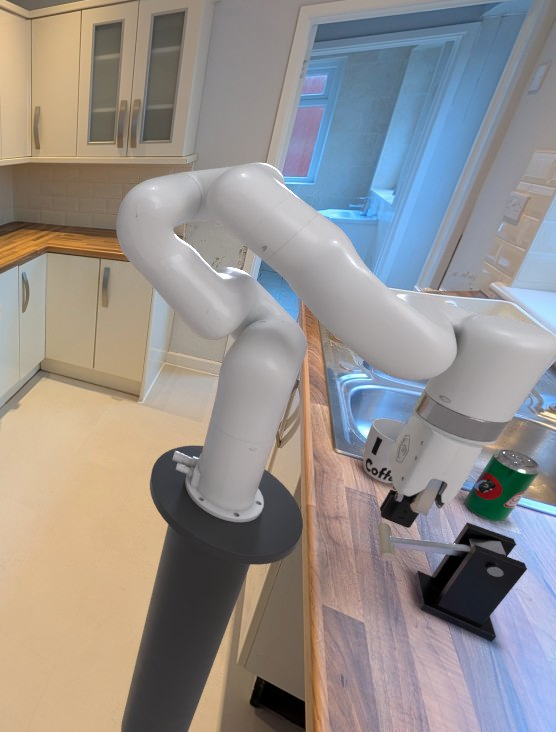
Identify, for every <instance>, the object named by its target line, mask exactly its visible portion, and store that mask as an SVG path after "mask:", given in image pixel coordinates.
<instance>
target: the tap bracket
mask: <svg viewBox="0 0 556 732" xmlns="http://www.w3.org/2000/svg"><path fill="white" fill-rule="evenodd" d="M469 538H472V539H481V540H490V541H500V542H501V544H502V546H503V549H504V551H505V554H506V556H504V555H502V554H499V553H496V552H494V551H491V550H488V549H486V548H483V547H480V546H478V545H475V544H474V546H473V547H472V548H471V550H470V551H469V553H468V554H467V556H466V557H462V556H454V555H446V554H444V557H443V558H442V559H441V561H440V562H439V564H438V565H437V567H436V569H435V570H434V572H433V573H432V574H431V575H430V574H428V573H426V572H422V571H420V570H417V571H416V573H415V574H414V580H415V585H416V590H417V591H416V592H417V597H418V602H419V607H420V610H421V611H423V612H425V613H427V614H429V615H431V616H433V617H436V618H438V619H440V620H442V621H444V622H447V623H449V624H451V625H453V626H455V627H457V628H460V629H462V630H465V631H466V632H469V633H471V634H474V635H475V636H478V637H480V638H482V639H484V640H486V641H488V642H491V643H492V642H493V641H494V640H495V639H496V638H497V635H496V631H495V629H494V625H493V621H492V619H491V616H492V614H493V613H494V612H495V610H496V609H497V608H498V606H499V605H500V604H501V603H502V601H503V600H504V599H505V598H506V597H507V596H508V594H509V593H510V591H511V590H512V589H513V588H514V586H515V585H516V584H517V583H518V581H520V579H521V578H522V577H523V575H524V574H525V573H526V571H527V570H528V568H527V566H526V563H525V562H523V561H521V560H517V559H515V558H512V557H510V556H509V555H510V554H511V552H512V551H513V549H514V548H515V547H516V545H517V542H516V540H515V539H514V538H512V537H510V536H507V535H505V534H501V533H498V532H496V531H493V530H491V529H487V528H483V527H481V526H479V525H476V524H473V523H470V522H466V523H465V524H464V525H463V528H462V529H461V530H460V532H459V534H458V535H457V536H456V538H455V539H454V541H453V543H452V544H460V545H469V546H471V545H470V540H469Z"/></svg>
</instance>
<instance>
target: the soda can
mask: <svg viewBox="0 0 556 732" xmlns="http://www.w3.org/2000/svg"><path fill="white" fill-rule="evenodd" d="M539 466H540V465H539V463H538V462H537V461H536V460H535V459H533V458H532V457H530V456H529V455H527V454H524V453H522V452H519V451H516V450H513V449H507V448H503V449H500V450H499V451H497V452H494V453H493V454H492V456H491V458H490V459H489V461H488V462H487V463H486V465H485V466H484V468H483V470H482V472H481V473H480V474H479V476H478V477H477V479H476V481H475V483H474V484H473V486H472V487H471V489H470V491H469V492H468V494H466V497H465V498H464V503H465V505H466V507H467V508H468V509H469V510H470V511H471V512H472V513H473V514H474V515H477V516H478V517H481V518H482V519H485V520H488V521H492V522H505V521H506V520H507V519H508V517H509V516H510V514H512V512H513V510H514V509H515V508H516V506H517V505H518V503H519V502H520V501H521V499H522V498H523V497H524V495H525V493H526V492H527V491H528V490H529V488H530V486H532V483H533V482H534V481H535V479H536V478H537V477H538V475H539V473H540V471H539Z"/></svg>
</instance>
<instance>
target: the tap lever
mask: <svg viewBox="0 0 556 732" xmlns="http://www.w3.org/2000/svg"><path fill="white" fill-rule="evenodd" d="M377 531H378V540H379V549H380V556H381V558H382V559H383V560H384V561H386V562H395V560H396V555H395V549H399V550H407V551H415V552H423V553H431V554H437V555H438V554H439V555H454V556H462V557H466V556H467V554H468V553H469V551H470V550H471V548H472V547H473V546H474V544H475V545H478V546H480V547H483V548H486V549H488V550H491V551H494V552H496V553H499V554H502V555H504V556H506V554H505V551H504V549H503V546H502V544H501V542H500V541H490V540H481V539H472V538H469V540H470V545H471V546H469V545H460V544H453V543H451V542H442V541H435V540H434V541H433V540H431V541H430V540H423V539H416V538H409V537H407V538H406V537H398V536H393V534H392V528H391V525H390V524H388V523H386V522H379V523H378V524H377Z"/></svg>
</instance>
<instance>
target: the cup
mask: <svg viewBox="0 0 556 732" xmlns="http://www.w3.org/2000/svg"><path fill="white" fill-rule="evenodd" d="M406 423H407V422H404V421H400V420H396V419H392V418H386V417H381V418H380V417H379V418H376V419H373V420H372V422H371V425H370V428H369V431H368V433H367V437H366V440H365V444H364V450H363V454H362V455H363V458H362V459H363V461H362V462H363V470H364V472H365V473H366V474H367V475H368V476H369V477H371V478H373V479H375V480H376V481H379V482H382V483H385V484H393V480H392V475H391V469H390V462H389V451H390V448H391V447H392V445H393V443H394V442H395V440H396V439H397V437H398V436H399V434H400V433H401V431H402V429H403V428H404V426H405V425H406Z"/></svg>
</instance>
